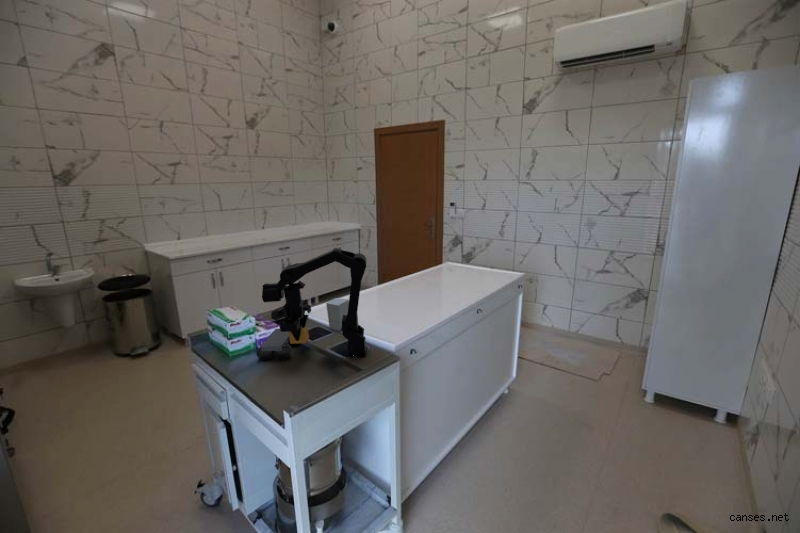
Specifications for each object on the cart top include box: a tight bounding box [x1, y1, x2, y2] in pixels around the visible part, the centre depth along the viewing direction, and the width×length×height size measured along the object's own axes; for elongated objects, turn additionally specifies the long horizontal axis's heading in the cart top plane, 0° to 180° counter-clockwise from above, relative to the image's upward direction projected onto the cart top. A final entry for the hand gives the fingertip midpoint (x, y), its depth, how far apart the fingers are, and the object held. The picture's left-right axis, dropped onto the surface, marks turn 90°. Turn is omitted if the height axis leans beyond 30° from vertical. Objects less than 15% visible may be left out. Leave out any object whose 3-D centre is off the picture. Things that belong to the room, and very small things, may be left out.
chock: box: [289, 327, 310, 344], centre depth 139 cm, size 6×4×4 cm, turn 87°
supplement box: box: [326, 297, 349, 332], centre depth 164 cm, size 7×7×13 cm
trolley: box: [256, 328, 299, 362], centre depth 146 cm, size 13×15×6 cm
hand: (299, 337), depth 139 cm, fingers closed on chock, 4 cm apart
